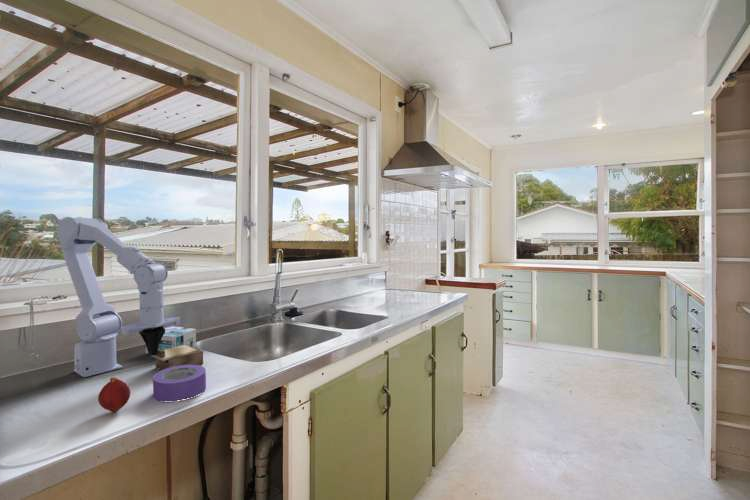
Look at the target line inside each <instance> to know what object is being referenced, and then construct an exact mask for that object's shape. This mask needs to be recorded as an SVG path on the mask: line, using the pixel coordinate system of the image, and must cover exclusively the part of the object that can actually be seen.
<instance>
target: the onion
mask: <svg viewBox="0 0 750 500" xmlns="http://www.w3.org/2000/svg"><path fill="white" fill-rule="evenodd" d="M109 380H110V381H107V383H106V384H105V385H103V387H102V388H101V390H100V392H99V393H98V397H97V399H98V400H97V401H98V404H99V406H100V407H101V408H103V409H104V410H107V411H109V412H110V413H114V414H115V413H116V412H119V410H121V409H122V408H123V407H125V405H126V404H127V403H128V401H129V399H130V397H131V388H130V386H129V385H128V384H127V383H126V382H125V381H124V380H121V379H119V378H117V377H116V376H112V377H111V378H109Z"/></svg>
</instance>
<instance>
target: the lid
mask: <svg viewBox="0 0 750 500" xmlns="http://www.w3.org/2000/svg"><path fill="white" fill-rule="evenodd" d="M197 349H198V348H196V349H194V348H191V347H188V346H186V345H182V346H177V347H173V348H169V349H165V350H162V349H159V348H158V350H157V355H153V356H152V357H153V358H155V359H156V358H157V359H160V360H162V361H165V360H169V359H173V358H177V357H180V356H184V355H188V354H192V353H196V352H198V350H197Z"/></svg>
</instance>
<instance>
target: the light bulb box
mask: <svg viewBox="0 0 750 500" xmlns="http://www.w3.org/2000/svg"><path fill="white" fill-rule="evenodd" d="M164 329H165V333H164V335H163V337H162V339H161V341H160V343H159V346H158V348H159V349H162V350H165V349H169V348H173V347H177V346H182V345H186V346H190V347H193V348H196V346H197V329H196V328H191V327H183V326H175V325H171V326H167V327H165V328H164ZM145 353H146V354H148V350H147V347H146V346H145ZM148 355H149V354H148Z"/></svg>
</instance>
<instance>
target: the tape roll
mask: <svg viewBox="0 0 750 500" xmlns="http://www.w3.org/2000/svg"><path fill="white" fill-rule="evenodd" d="M206 373H207V371H206V368H205V367H204V366H202V365H180V366H175V367H170V368H167V369H164V370H160V371H158V372H156V373H155V374H154V375H153V377H152V390H153V391H152V392H153V393H152V394H153V399H154V400H155V401H157V402H159V401H163V402H162V403H165V402H164V401H177V400H182V399H187V398H191V397H194V396H196V395H198V394H200V393H202V392H203V393H205V391H206V390H207V378H206V377H207V374H206ZM205 389H206V390H205ZM203 393H202V394H203ZM194 398H195V397H194Z"/></svg>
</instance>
